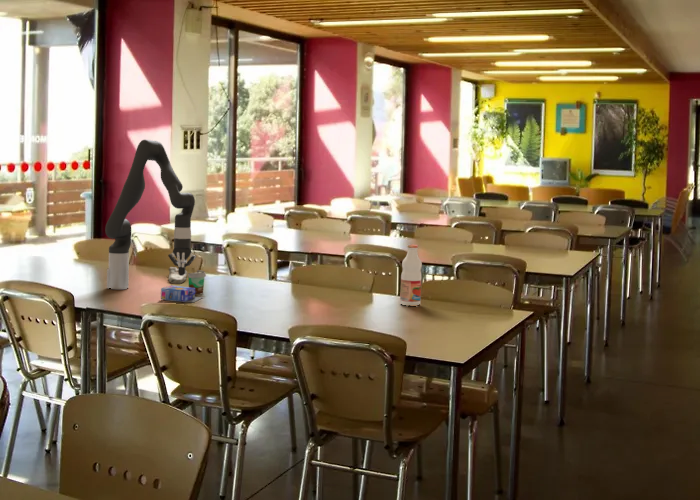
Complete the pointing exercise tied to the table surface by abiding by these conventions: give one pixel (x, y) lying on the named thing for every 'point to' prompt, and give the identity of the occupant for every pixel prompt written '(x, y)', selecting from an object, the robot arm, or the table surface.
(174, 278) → the long grey stone
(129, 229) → the robot arm
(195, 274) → the food container
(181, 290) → the ink cartridge box
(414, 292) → the fruit juice
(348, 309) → the table surface
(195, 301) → the mat
